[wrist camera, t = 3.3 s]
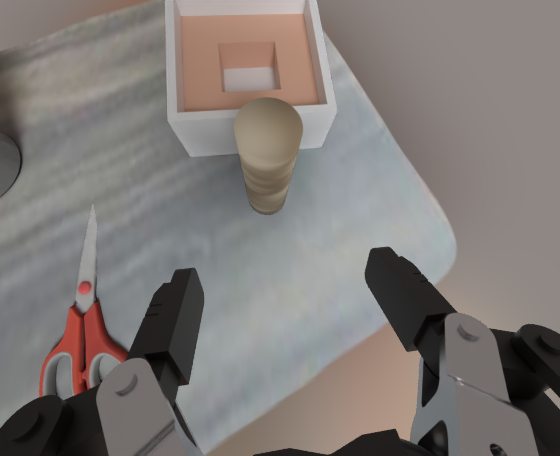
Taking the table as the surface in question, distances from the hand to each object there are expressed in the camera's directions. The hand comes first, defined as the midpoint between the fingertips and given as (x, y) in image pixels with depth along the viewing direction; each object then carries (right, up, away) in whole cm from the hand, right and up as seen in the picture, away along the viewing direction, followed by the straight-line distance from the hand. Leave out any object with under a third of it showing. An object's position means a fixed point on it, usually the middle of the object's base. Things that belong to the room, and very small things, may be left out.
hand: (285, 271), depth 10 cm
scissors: (-19, -5, +12) cm, 23 cm away
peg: (-2, +5, +14) cm, 15 cm away
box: (-4, +18, +17) cm, 25 cm away
